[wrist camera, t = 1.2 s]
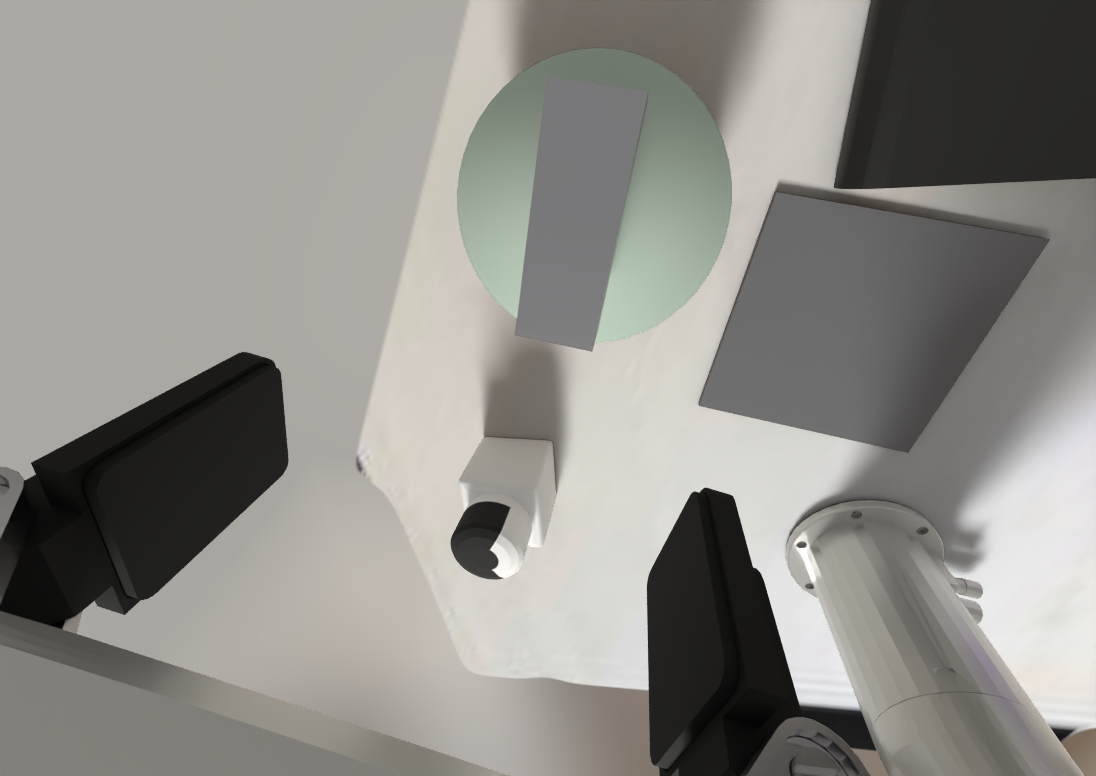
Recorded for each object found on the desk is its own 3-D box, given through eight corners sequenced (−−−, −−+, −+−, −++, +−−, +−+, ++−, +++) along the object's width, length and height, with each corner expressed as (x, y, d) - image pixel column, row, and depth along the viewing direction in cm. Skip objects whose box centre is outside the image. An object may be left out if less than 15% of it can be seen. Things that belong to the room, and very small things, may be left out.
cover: (771, 78, 22) (818, 48, 16) (681, 356, 29) (690, 410, 23) (475, 33, 23) (414, -9, 17) (459, 309, 31) (412, 347, 24)
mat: (1044, 238, 29) (1050, 239, 29) (905, 449, 37) (908, 452, 37) (774, 191, 31) (776, 192, 30) (698, 403, 39) (699, 405, 39)
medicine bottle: (491, 491, 48) (448, 585, 38) (483, 435, 45) (433, 520, 35) (556, 497, 47) (531, 595, 36) (553, 439, 44) (523, 529, 33)
